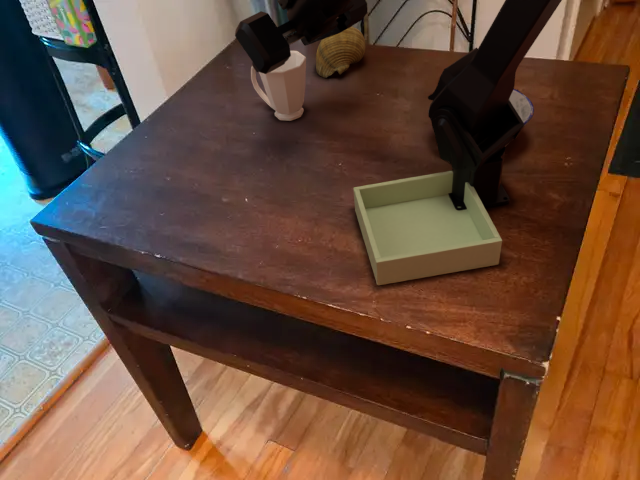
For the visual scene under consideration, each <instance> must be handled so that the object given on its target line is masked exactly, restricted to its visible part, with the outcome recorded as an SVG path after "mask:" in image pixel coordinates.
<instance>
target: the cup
mask: <svg viewBox="0 0 640 480" xmlns="http://www.w3.org/2000/svg"><path fill="white" fill-rule="evenodd" d="M290 53H291V56H290V58H289V59H288V60H287V61H286V62H285V64H284V65H282V66H280V67H278V68H277V69H275V70H273V71H271V72H269V73H267V74H264V73H261V72H258V74H259V77H260V80H261V82H262V85H263V89H264V91H265V92H264V91H263V90H262V88H261V87H260V84H259V83H258V81H257V75H256V74H257V72H256V70H255V69H254V68H253V66H252V65H251V67H250V81H251V83H252V87H253V89H254V90H255V92H256V93H257V95H258V96H259V97H260V98H261V99H262V100H263V101H264V102H265V103H266V104H267V105H268V106H269V107H270V108H271V109H272V110H274V111H275V112H274V117H276V119H278V120H279V121H289V122H290V121H294V120H296V119H299V118H301V117H302V116H303V113H304V112H305V110H304V109H305V108H303V105H304V104H305V103H304V102H305V95H306V75H307V74H306V72H307V57H306V56H305V55H303V54H302V53H301V52H300V51H298V50H290Z"/></svg>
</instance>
